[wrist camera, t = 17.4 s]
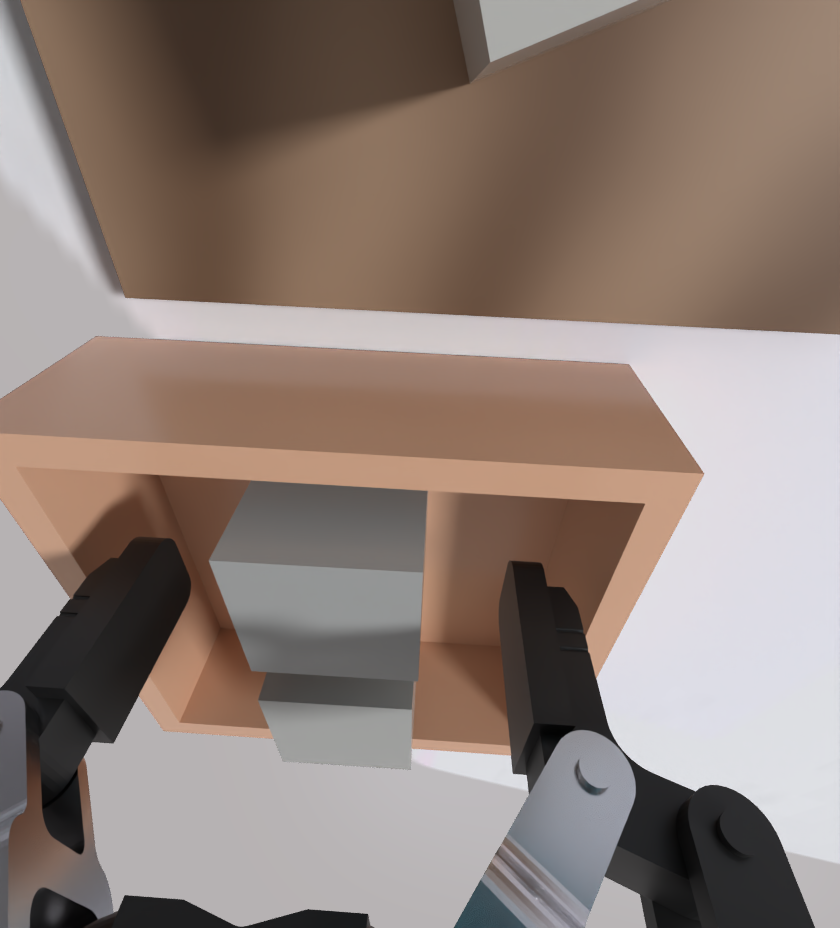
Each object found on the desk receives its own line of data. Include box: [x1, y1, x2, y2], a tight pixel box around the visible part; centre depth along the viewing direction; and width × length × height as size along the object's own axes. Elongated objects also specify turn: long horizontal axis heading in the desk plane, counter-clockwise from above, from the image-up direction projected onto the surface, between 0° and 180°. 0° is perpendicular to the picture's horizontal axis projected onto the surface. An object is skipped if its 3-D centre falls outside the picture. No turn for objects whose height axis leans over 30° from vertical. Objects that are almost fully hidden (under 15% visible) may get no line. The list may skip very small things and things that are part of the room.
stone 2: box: [258, 672, 416, 770], centre depth 15 cm, size 4×4×5 cm
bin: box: [0, 336, 704, 755], centre depth 14 cm, size 14×13×4 cm
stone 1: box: [209, 480, 428, 681], centre depth 12 cm, size 4×4×5 cm
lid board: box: [20, 0, 840, 334], centre depth 8 cm, size 17×10×1 cm, turn 88°
